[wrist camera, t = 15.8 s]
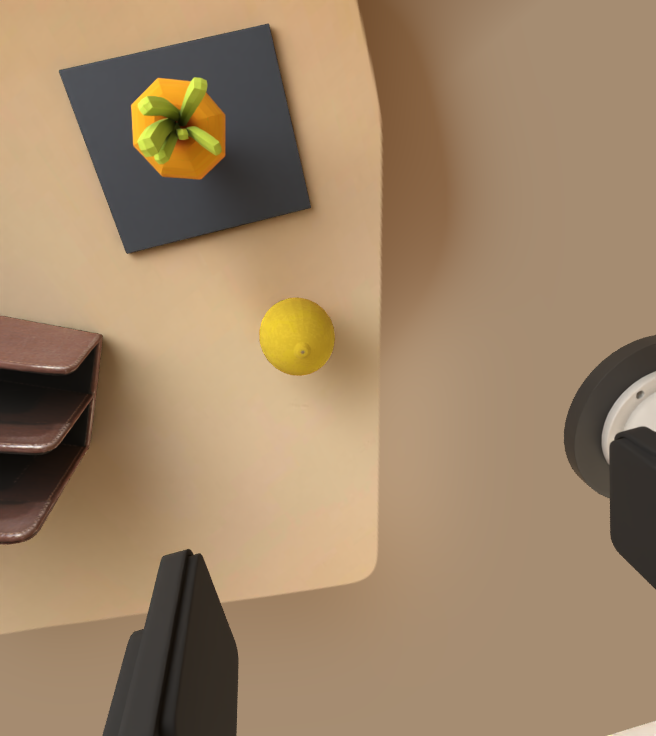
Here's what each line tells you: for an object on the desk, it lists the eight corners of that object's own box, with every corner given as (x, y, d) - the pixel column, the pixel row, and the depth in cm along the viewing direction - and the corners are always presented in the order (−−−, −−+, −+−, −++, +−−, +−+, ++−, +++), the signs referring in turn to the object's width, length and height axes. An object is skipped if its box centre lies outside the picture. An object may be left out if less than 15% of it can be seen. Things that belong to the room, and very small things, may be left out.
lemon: (322, 284, 40) (340, 307, 33) (328, 350, 42) (346, 385, 35) (253, 293, 40) (255, 317, 32) (262, 359, 42) (267, 396, 34)
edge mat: (268, 25, 34) (269, 23, 34) (310, 207, 38) (311, 207, 38) (60, 71, 33) (58, 70, 33) (127, 253, 37) (126, 253, 37)
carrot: (215, 95, 34) (198, 33, 20) (242, 169, 36) (243, 159, 22) (146, 119, 34) (81, 73, 20) (177, 192, 36) (136, 197, 22)
